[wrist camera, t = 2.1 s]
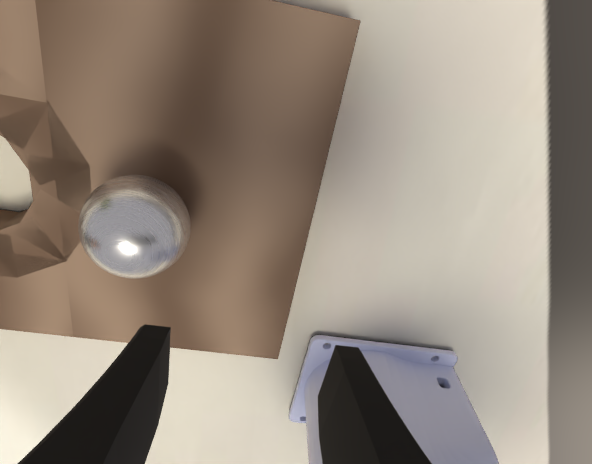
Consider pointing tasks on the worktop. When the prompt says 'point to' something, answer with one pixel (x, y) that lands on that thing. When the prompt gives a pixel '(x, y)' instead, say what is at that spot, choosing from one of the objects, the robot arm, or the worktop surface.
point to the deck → (168, 158)
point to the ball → (134, 226)
